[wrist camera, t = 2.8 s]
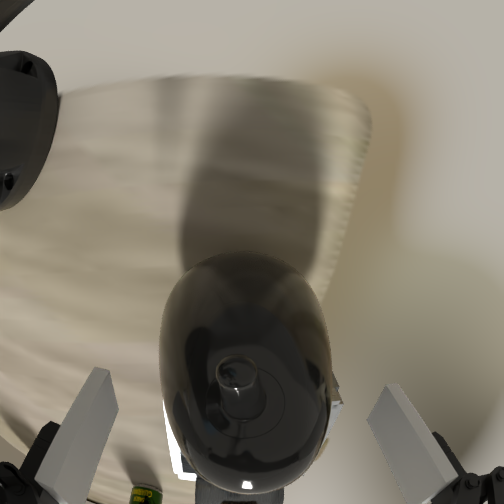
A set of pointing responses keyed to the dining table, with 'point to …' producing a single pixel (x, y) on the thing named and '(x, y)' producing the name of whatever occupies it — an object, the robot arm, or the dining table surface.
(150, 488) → the green soda can
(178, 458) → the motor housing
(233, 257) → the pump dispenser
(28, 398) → the dining table surface
